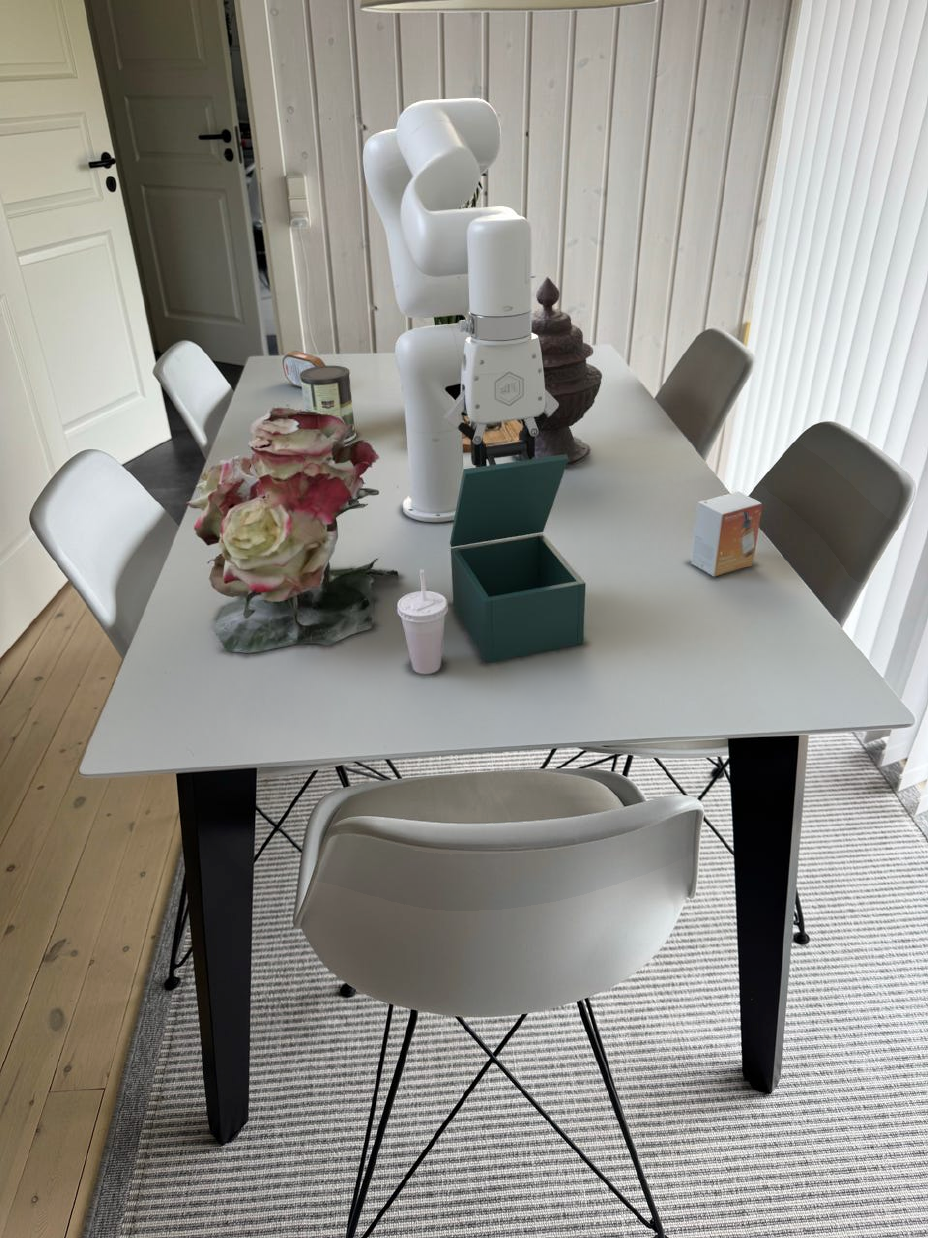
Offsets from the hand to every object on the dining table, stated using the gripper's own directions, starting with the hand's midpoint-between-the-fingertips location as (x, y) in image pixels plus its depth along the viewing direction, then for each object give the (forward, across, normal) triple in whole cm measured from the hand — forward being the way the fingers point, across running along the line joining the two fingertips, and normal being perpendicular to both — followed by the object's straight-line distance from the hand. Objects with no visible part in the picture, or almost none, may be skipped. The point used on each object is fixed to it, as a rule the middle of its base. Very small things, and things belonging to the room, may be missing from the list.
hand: (503, 464), depth 120 cm
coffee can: (+21, -12, +80) cm, 84 cm away
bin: (+22, 0, -4) cm, 23 cm away
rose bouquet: (+22, -29, +10) cm, 37 cm away
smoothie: (+22, -14, -10) cm, 29 cm away
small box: (+22, +36, +1) cm, 42 cm away
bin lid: (+5, 0, -1) cm, 5 cm away
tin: (+20, -12, +118) cm, 120 cm away
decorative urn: (+21, +27, +53) cm, 63 cm away
